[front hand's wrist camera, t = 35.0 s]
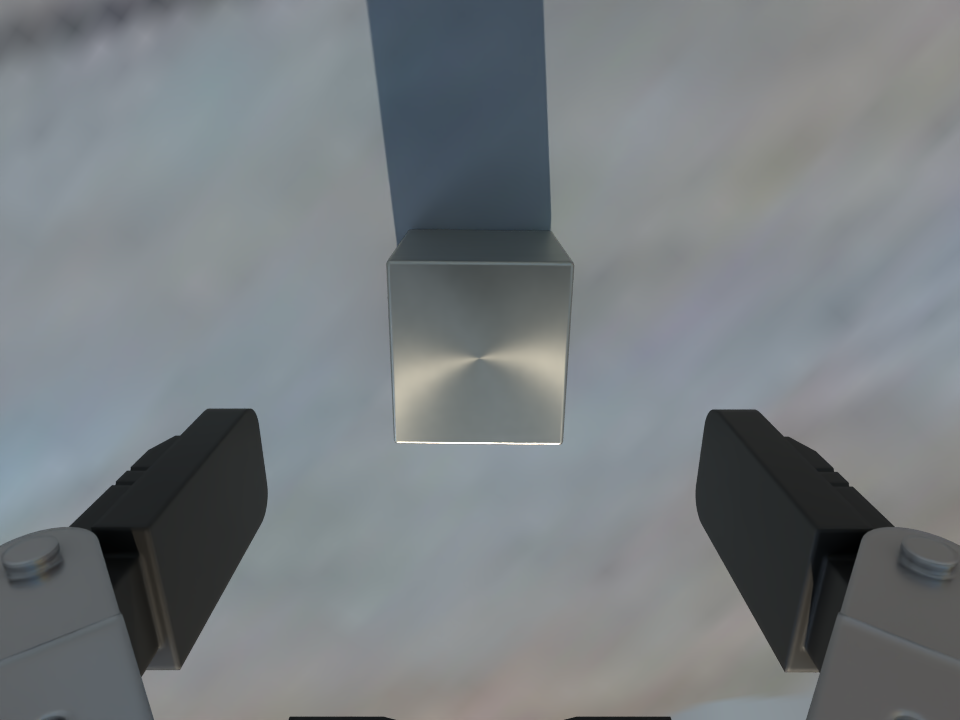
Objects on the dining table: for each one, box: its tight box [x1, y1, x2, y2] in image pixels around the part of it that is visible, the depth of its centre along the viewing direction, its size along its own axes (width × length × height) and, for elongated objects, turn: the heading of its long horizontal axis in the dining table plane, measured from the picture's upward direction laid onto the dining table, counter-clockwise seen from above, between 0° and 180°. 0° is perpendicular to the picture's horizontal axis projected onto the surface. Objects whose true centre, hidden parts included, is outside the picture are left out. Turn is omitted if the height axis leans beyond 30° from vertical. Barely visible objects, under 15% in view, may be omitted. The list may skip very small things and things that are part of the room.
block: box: [386, 229, 574, 445], centre depth 18 cm, size 5×4×5 cm
